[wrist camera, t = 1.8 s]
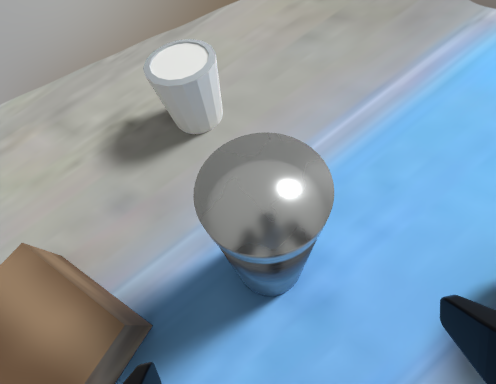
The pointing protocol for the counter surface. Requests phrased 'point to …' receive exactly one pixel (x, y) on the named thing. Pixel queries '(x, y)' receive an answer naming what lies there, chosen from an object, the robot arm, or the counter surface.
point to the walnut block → (61, 323)
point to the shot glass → (187, 84)
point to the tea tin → (265, 206)
